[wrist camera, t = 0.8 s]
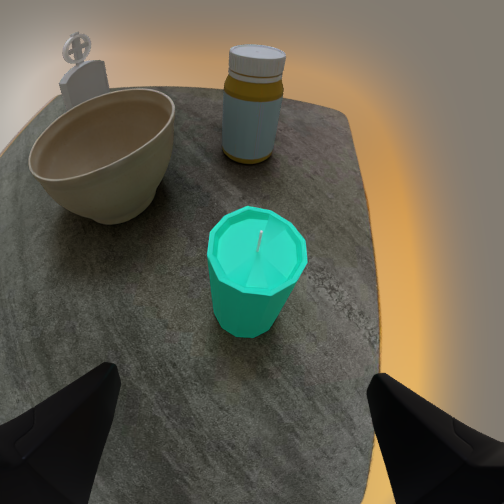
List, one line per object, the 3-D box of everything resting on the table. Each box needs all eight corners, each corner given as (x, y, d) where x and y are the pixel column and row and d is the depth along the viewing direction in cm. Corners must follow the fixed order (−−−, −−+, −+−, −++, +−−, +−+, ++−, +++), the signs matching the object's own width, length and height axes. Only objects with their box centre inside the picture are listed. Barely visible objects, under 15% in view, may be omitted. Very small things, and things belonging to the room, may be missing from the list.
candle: (208, 283, 26) (198, 197, 16) (269, 273, 27) (295, 186, 17) (220, 344, 23) (215, 293, 13) (285, 330, 24) (331, 270, 14)
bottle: (279, 162, 36) (300, 61, 23) (229, 170, 34) (236, 60, 21) (261, 134, 39) (274, 44, 26) (216, 140, 37) (219, 44, 24)
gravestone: (71, 123, 39) (49, 44, 24) (103, 99, 44) (90, 25, 29) (78, 124, 39) (56, 42, 24) (111, 100, 44) (98, 24, 28)
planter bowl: (204, 166, 34) (203, 93, 25) (140, 271, 26) (102, 198, 16) (112, 146, 35) (96, 86, 26) (45, 227, 27) (5, 167, 18)
